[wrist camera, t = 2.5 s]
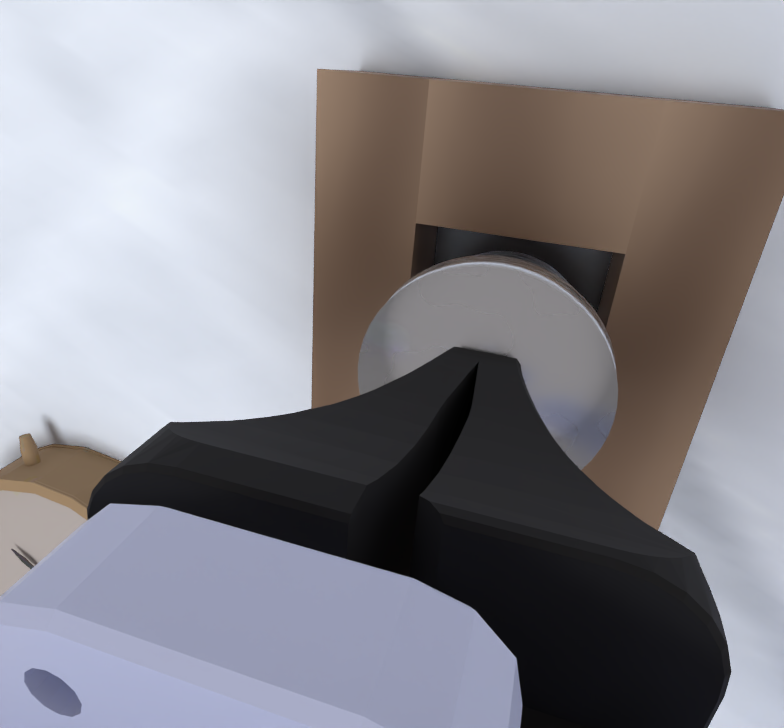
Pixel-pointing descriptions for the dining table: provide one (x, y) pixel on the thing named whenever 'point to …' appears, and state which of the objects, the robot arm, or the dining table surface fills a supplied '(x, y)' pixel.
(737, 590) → the dining table surface
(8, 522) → the alarm clock
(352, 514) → the robot arm
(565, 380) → the silver metal dome
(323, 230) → the button panel
